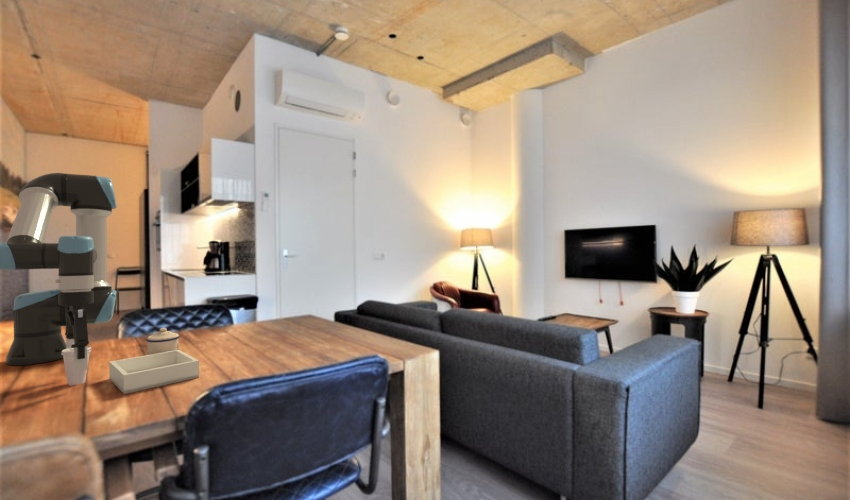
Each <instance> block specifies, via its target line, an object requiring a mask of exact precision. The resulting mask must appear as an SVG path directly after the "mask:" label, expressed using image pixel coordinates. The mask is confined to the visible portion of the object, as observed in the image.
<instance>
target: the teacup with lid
mask: <svg viewBox="0 0 850 500" xmlns="http://www.w3.org/2000/svg"><path fill="white" fill-rule="evenodd" d="M179 339H180V335H179V333H176V332H172V331H170V330H167V328H166V327H163V328H162V327H161V328H159V331H156V332H155V333H153V334H152V335H149V336H148V337H147V338H146V339H145V340H146V355H151V354H157V353H163V352H168V351H174V350H179Z"/></svg>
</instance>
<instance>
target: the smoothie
mask: <svg viewBox="0 0 850 500" xmlns="http://www.w3.org/2000/svg"><path fill="white" fill-rule="evenodd" d="M91 352H92V347H91V346H88V345H87V368H89V367H88V366H89V359H90V353H91ZM61 355H63V358H62V359H63V364H64V370H65V375H66V382H67V385H68V386H77V385H81V384H85V383H86V381H87V379H86V378H87V372H88V369H87V370H82V371H76V372H74V348H68V349H65V350H62V354H61Z"/></svg>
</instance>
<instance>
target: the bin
mask: <svg viewBox="0 0 850 500" xmlns="http://www.w3.org/2000/svg"><path fill="white" fill-rule="evenodd" d="M108 363H109V365H108V367H109V369H108V370H109V372H108V373H109V374H108V375H109V376H108V377H109V378H108V379H109V380H110V381H111V382H112V383H113V384H114V385H115V387H117V389H118V390H119V391H120V392H121V393H122V394H123V395H126V394H131V393H135V392H139V391H145V390H149V389H154V388H158V387H162V386H163V387H164V386H167V385H172V384H175V383H180V382H185V381H189V380H190V381H191V380H194V379H197V378H198V379H199V378H200V361H199V360H198V359H197V358H195V357H193V356H191V355H190V354H187V353H186V352H184V351H182V350H180V349H178V350H174V351H168V352H163V353H157V354H151V355H147V354H146V355H141V356H140V355H139V356H134V357H129V358H123V359H117V360H112V361H108Z"/></svg>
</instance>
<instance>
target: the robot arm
mask: <svg viewBox="0 0 850 500" xmlns="http://www.w3.org/2000/svg"><path fill="white" fill-rule="evenodd" d="M18 200H19V204H20V205H19V208H18V210H17V212H16V216H15V217H14V221H13V224H12V226H11V229H10V231H9V235H8V237H7V240H6V242H5V241H3V242H0V270H11V271H16V270H17V271H18V270H22V271H23V270H46V269H47V270H53V269H54V270H55V269H56V270H57V269H58V279H55V281H54V282H55V283H56V284H58V286H57V287H58V288H54V289H46V290H38V291H33V292H31V291H30V292H26V293H22V294H18V295H16V297H14V301H13V308H12V311H13V340H12V342H11V346H10V348H9V350H8V353H7V354H6V357H5V364H6V365H8V366H27V365H38V364H43V363H48V362H53V361H58V360H61V359H63V355H61V354H62V350H65V349H68V348H74V372H76V371H82V370H87V371H88V367H87V346H88V345H89V344H90V341H89V332H88V325H93V324H94V325H96V324H102V323H109V322H110V321H111V320H112V318H113V315H114V312H115V306H116V300H117V290H115V289H112V285H111V284H110V283H109V282H108V281H107V247H108V246H107V239H108V238H107V228H108V227H107V224H108V223H107V220H108V217H109V216H111V215H112V214H113V210H115V209H117V206H118V205H117V201H116V194H115V189H114V183H113V180H112V179H111V178H109V177H106V176H98V175H87V174H75V173H65V172H64V173H62V172H51V173H45V174H41V175H40V176H37V177H35V178H34V179H32V180H30V181H28V182H27V183H26V184H25V185H24V186H23V187H22V188H21V189H20V192H19V194H18ZM57 207H70V213H72V214H73V215H74V216H75V235H62V236H59V238H58V241H57V242H58V243H56V242H54V243H48V242H45V238H46V235H47V232H48V231H47V230H48V227H49V224H50V220H51V215H52V212H53V210H55V209H56V208H57ZM63 327H65V333H64V335H65V339H66V340H65V339H64V336H63V334H62V332H63V331H62V328H63Z"/></svg>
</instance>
